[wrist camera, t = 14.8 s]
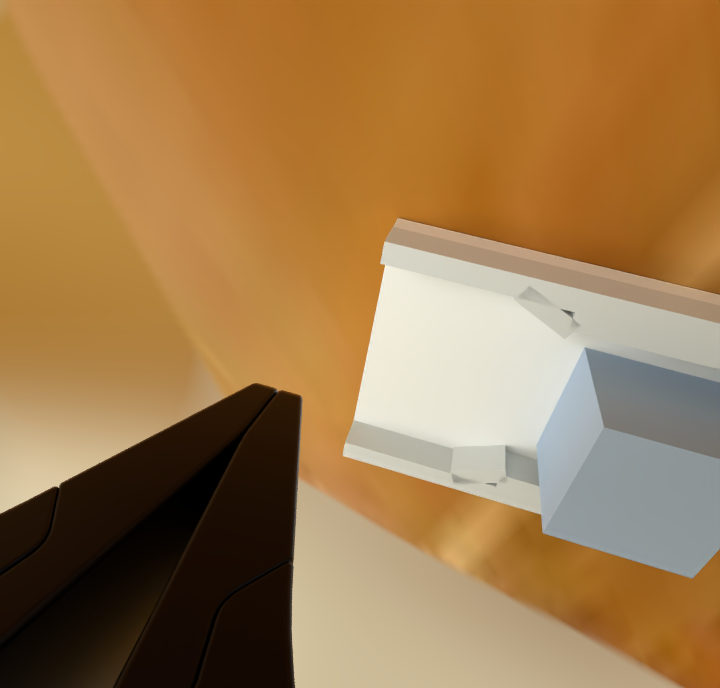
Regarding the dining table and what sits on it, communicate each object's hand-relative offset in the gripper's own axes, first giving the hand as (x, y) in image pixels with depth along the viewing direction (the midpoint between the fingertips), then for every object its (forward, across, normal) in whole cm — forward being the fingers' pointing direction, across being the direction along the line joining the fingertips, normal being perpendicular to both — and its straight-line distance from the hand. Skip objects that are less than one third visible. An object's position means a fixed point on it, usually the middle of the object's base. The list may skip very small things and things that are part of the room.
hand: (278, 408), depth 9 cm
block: (+11, -10, +6) cm, 16 cm away
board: (+12, -7, +6) cm, 15 cm away
